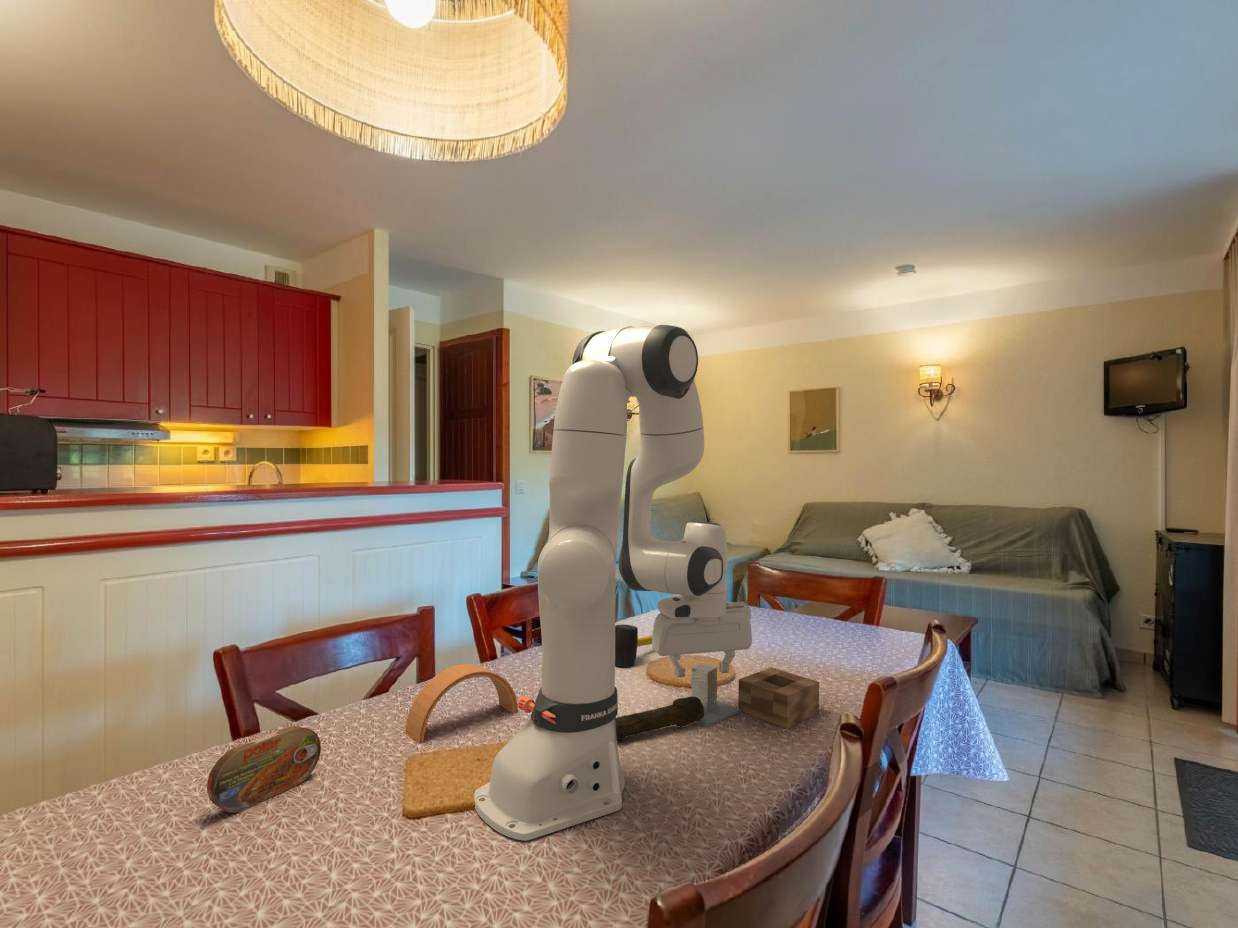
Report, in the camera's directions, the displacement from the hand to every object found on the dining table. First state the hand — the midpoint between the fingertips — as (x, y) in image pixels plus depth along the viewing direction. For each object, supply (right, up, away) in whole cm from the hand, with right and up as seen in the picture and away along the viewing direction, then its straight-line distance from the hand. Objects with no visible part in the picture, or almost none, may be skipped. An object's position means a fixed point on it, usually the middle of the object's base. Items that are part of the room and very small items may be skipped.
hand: (702, 674), depth 117 cm
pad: (0, -7, 0) cm, 7 cm away
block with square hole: (+15, -7, 0) cm, 17 cm away
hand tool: (-9, -7, -9) cm, 14 cm away
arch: (-45, -7, -6) cm, 46 cm away
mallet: (-8, -7, +36) cm, 38 cm away
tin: (-67, -7, -31) cm, 74 cm away
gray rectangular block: (0, -7, 0) cm, 7 cm away
